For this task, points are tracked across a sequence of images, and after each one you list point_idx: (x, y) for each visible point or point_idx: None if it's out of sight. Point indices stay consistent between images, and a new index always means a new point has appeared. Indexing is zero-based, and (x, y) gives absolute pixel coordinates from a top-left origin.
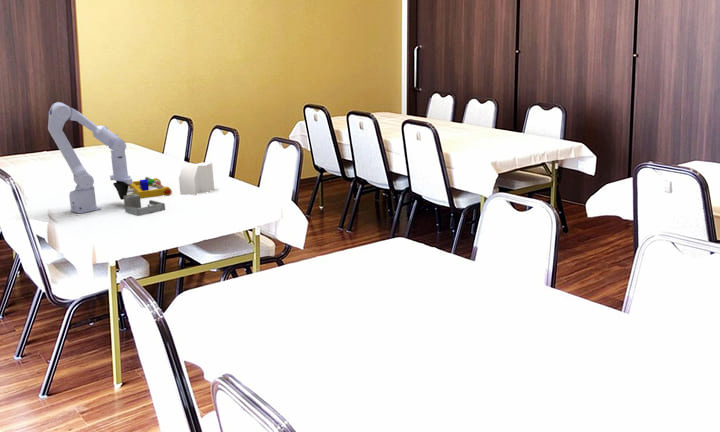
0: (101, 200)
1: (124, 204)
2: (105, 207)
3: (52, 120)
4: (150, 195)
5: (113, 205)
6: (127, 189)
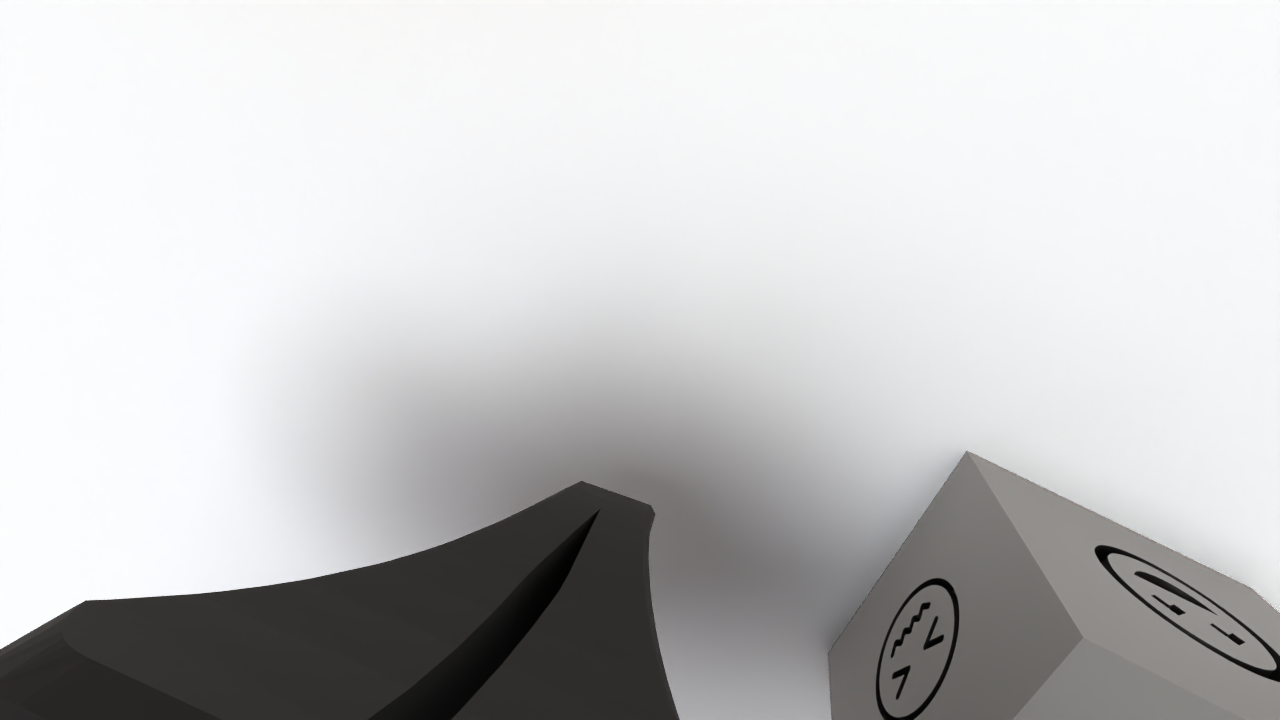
0: (38, 346)
1: (832, 701)
2: None
3: None
4: None
5: None
6: (663, 689)
